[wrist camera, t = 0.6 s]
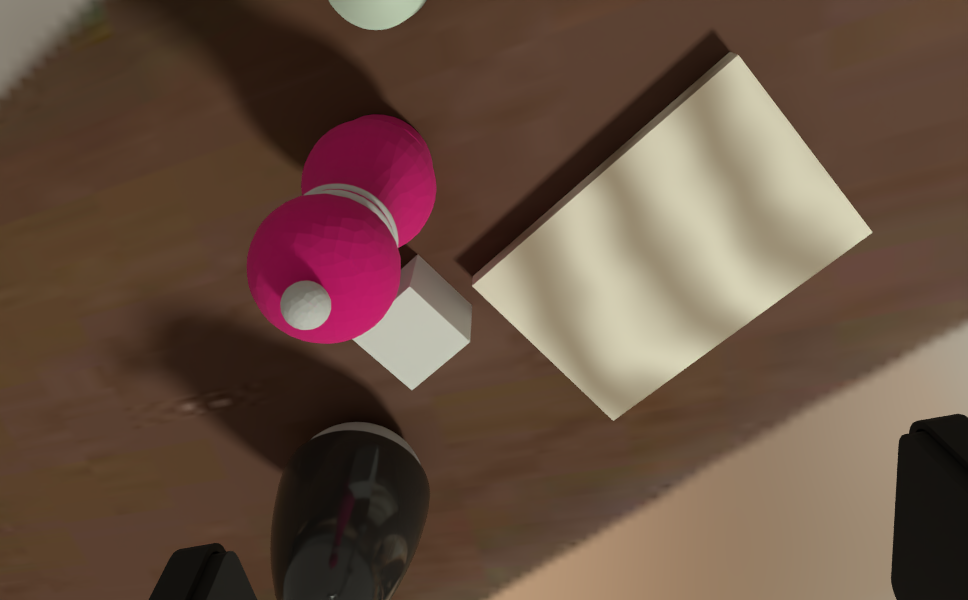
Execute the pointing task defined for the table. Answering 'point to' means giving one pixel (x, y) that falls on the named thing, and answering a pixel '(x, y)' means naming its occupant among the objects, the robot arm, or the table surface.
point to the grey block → (419, 325)
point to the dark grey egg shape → (347, 515)
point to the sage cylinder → (376, 12)
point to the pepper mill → (343, 231)
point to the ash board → (673, 241)
